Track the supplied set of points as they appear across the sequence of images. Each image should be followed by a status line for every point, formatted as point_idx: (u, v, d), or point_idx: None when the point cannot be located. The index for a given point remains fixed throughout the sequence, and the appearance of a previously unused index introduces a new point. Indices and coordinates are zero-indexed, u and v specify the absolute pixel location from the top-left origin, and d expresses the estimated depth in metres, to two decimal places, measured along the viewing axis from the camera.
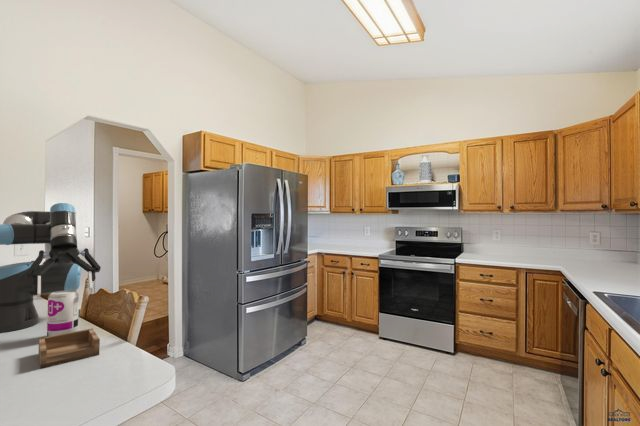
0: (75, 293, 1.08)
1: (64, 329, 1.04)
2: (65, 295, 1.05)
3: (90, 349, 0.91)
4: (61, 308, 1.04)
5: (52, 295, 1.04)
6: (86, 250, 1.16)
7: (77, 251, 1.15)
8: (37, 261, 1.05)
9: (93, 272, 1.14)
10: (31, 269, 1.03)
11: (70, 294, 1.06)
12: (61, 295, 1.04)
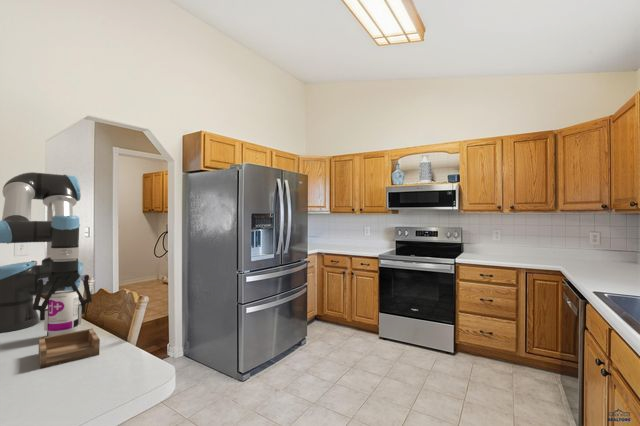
0: (75, 293, 1.08)
1: (64, 329, 1.04)
2: (65, 295, 1.05)
3: (90, 349, 0.91)
4: (61, 308, 1.04)
5: (52, 295, 1.04)
6: (86, 277, 1.11)
7: (77, 276, 1.09)
8: (40, 293, 1.02)
9: (83, 305, 1.11)
10: (37, 303, 1.02)
11: (70, 294, 1.06)
12: (61, 295, 1.04)
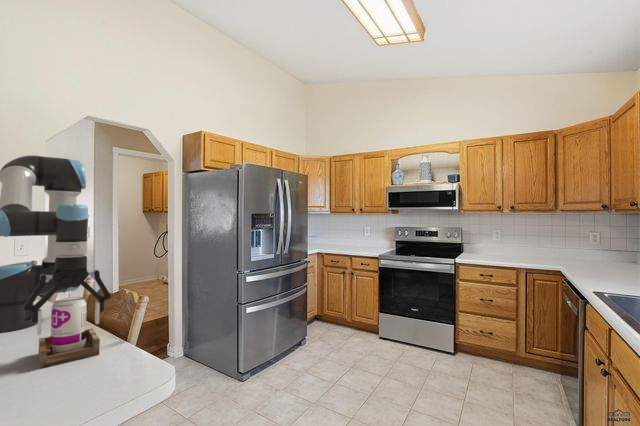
0: (83, 301, 0.94)
1: (70, 343, 0.90)
2: (71, 303, 0.91)
3: (90, 349, 0.91)
4: (67, 318, 0.89)
5: (56, 303, 0.90)
6: (97, 273, 0.97)
7: (86, 274, 0.95)
8: (38, 291, 0.87)
9: (102, 302, 0.98)
10: (30, 302, 0.86)
11: (77, 302, 0.92)
12: (67, 303, 0.90)
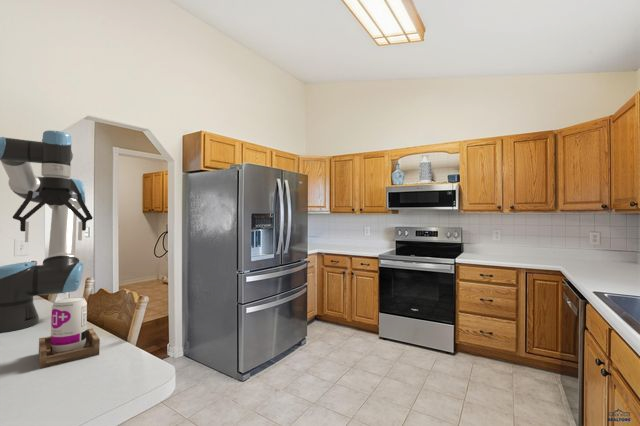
0: (83, 301, 0.94)
1: (70, 343, 0.90)
2: (72, 303, 0.91)
3: (90, 349, 0.91)
4: (67, 318, 0.90)
5: (57, 303, 0.90)
6: (79, 195, 1.08)
7: (69, 195, 1.07)
8: (25, 204, 0.99)
9: (84, 222, 1.10)
10: (19, 213, 0.98)
11: (77, 302, 0.92)
12: (67, 303, 0.90)
